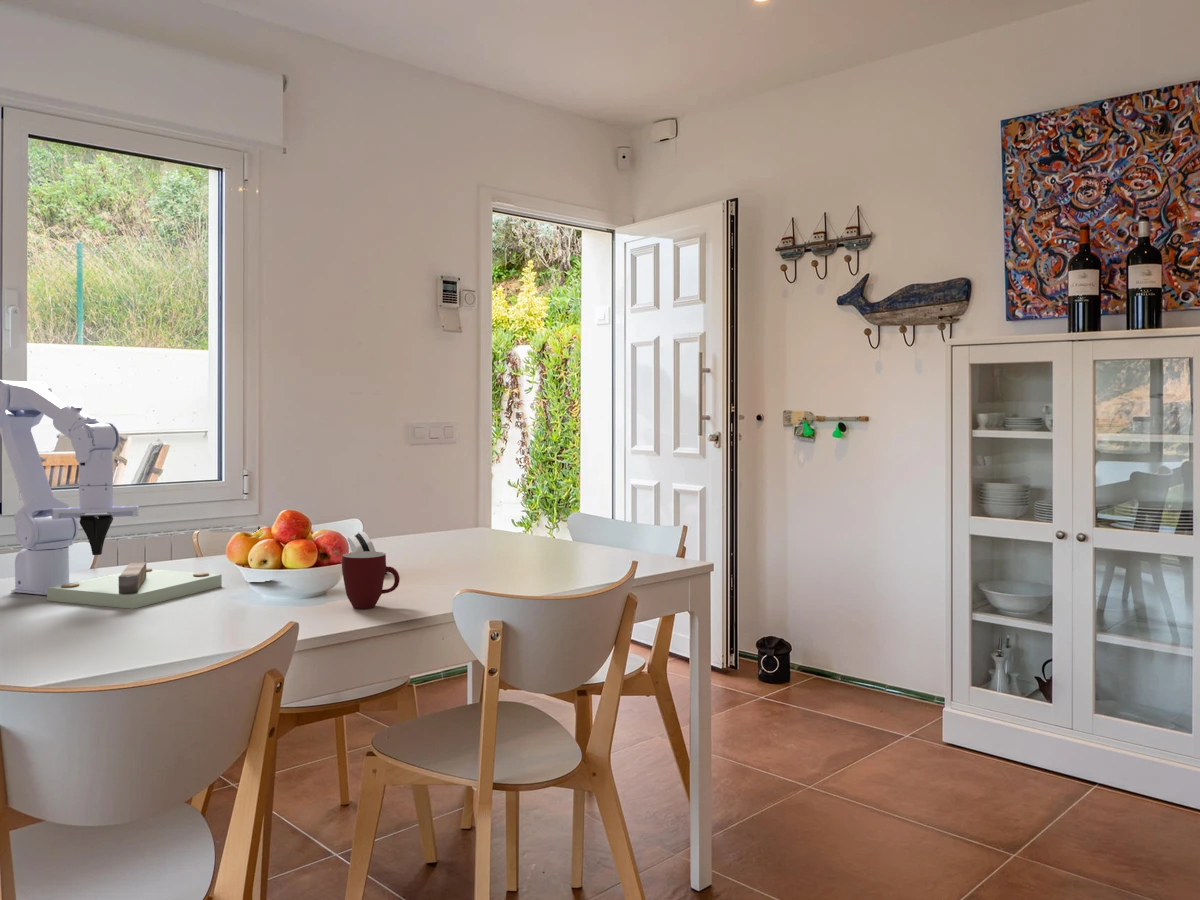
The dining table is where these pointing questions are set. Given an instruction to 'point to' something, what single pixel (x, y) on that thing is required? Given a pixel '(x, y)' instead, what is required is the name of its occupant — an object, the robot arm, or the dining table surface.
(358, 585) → the mug
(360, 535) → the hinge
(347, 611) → the dining table surface
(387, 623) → the dining table surface
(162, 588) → the stool seat
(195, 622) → the dining table surface
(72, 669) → the dining table surface
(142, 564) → the folding leg
